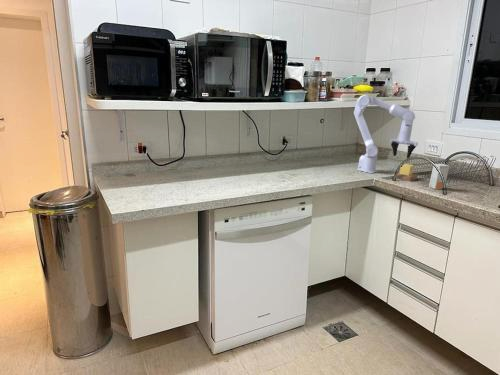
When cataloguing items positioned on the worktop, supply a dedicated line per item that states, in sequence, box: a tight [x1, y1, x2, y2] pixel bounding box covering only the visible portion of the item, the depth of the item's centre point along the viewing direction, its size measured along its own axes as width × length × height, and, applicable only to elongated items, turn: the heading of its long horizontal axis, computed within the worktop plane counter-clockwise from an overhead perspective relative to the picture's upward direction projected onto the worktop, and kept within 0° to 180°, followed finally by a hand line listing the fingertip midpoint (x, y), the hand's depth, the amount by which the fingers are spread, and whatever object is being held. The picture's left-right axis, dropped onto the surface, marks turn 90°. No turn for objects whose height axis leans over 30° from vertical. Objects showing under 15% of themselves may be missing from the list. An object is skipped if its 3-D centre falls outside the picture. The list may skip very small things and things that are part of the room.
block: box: [399, 163, 415, 176], centre depth 189 cm, size 5×5×5 cm
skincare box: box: [428, 163, 450, 190], centre depth 172 cm, size 6×4×12 cm
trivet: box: [393, 171, 419, 182], centre depth 190 cm, size 9×9×2 cm
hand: (401, 156), depth 196 cm, fingers open, 7 cm apart
